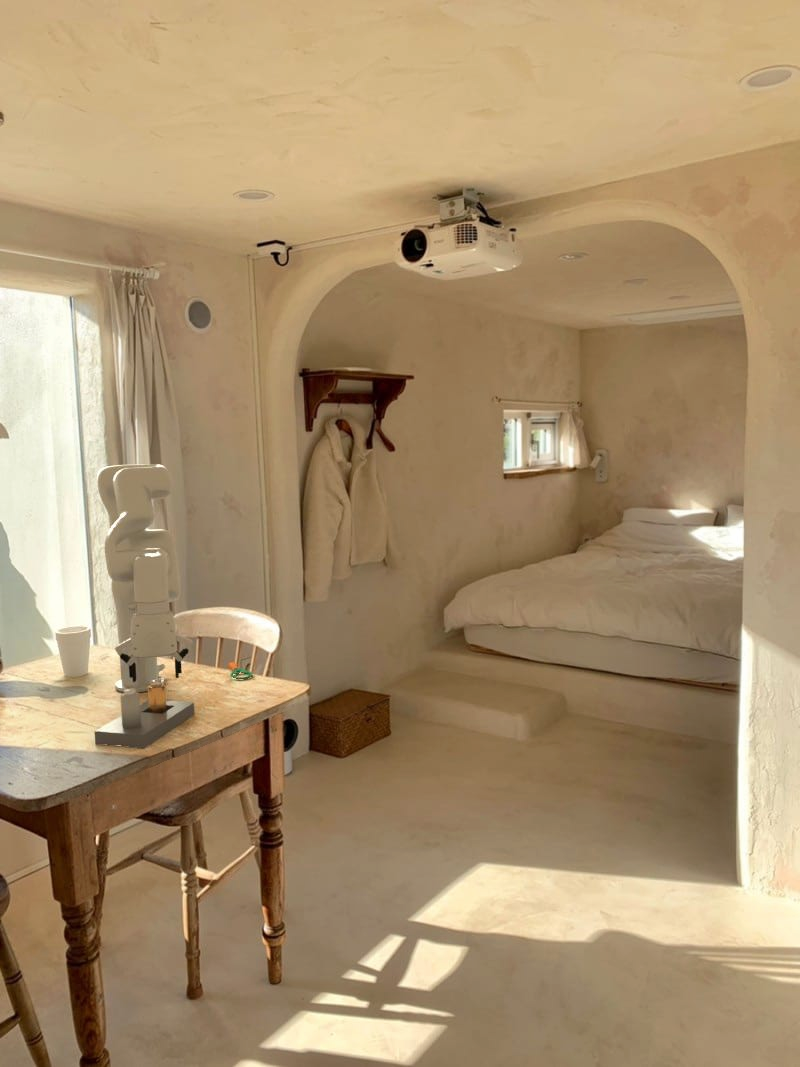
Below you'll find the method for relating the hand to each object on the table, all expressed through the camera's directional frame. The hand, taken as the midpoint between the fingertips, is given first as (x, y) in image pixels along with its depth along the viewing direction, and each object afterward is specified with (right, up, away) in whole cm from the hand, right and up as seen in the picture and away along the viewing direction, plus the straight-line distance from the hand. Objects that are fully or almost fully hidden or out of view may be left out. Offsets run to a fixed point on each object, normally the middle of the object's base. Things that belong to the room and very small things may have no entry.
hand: (156, 678), depth 191 cm
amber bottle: (0, -10, +1) cm, 10 cm away
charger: (-1, -11, -4) cm, 12 cm away
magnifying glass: (+11, -6, +39) cm, 41 cm away
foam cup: (-35, -6, +42) cm, 55 cm away
